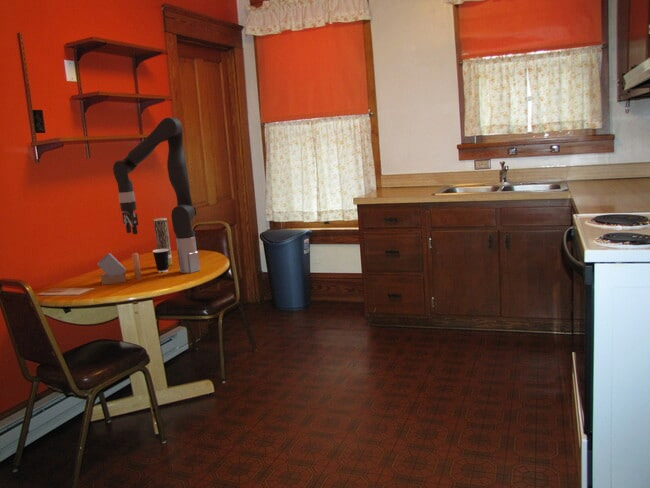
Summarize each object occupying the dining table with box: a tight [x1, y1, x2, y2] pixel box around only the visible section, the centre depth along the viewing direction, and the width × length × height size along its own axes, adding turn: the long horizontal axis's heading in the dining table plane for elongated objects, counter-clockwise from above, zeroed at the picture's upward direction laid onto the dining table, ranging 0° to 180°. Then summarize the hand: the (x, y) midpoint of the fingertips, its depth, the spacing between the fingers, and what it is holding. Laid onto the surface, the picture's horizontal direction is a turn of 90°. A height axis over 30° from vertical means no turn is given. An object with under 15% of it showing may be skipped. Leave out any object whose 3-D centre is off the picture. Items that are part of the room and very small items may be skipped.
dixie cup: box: [152, 248, 169, 274], centre depth 312 cm, size 8×8×11 cm
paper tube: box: [153, 217, 173, 267], centre depth 326 cm, size 7×7×25 cm
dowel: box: [131, 252, 142, 280], centre depth 301 cm, size 3×3×12 cm
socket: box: [97, 252, 127, 286], centre depth 296 cm, size 12×9×14 cm
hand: (132, 233), depth 307 cm, fingers open, 8 cm apart
